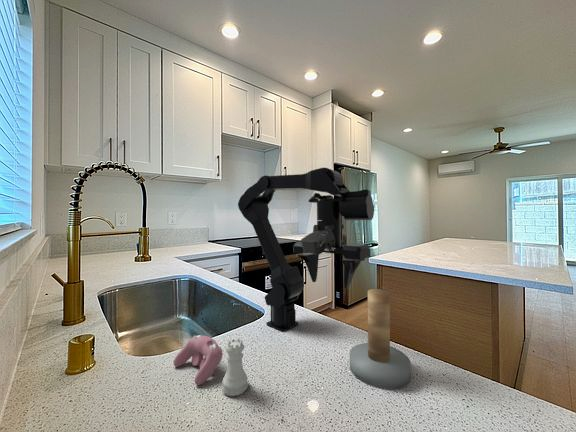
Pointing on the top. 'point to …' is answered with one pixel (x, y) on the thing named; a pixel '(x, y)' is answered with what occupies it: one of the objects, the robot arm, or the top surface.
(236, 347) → the rook chess piece
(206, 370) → the video game controller
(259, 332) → the top surface
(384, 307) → the teak pillar
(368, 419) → the top surface
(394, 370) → the grey plinth
